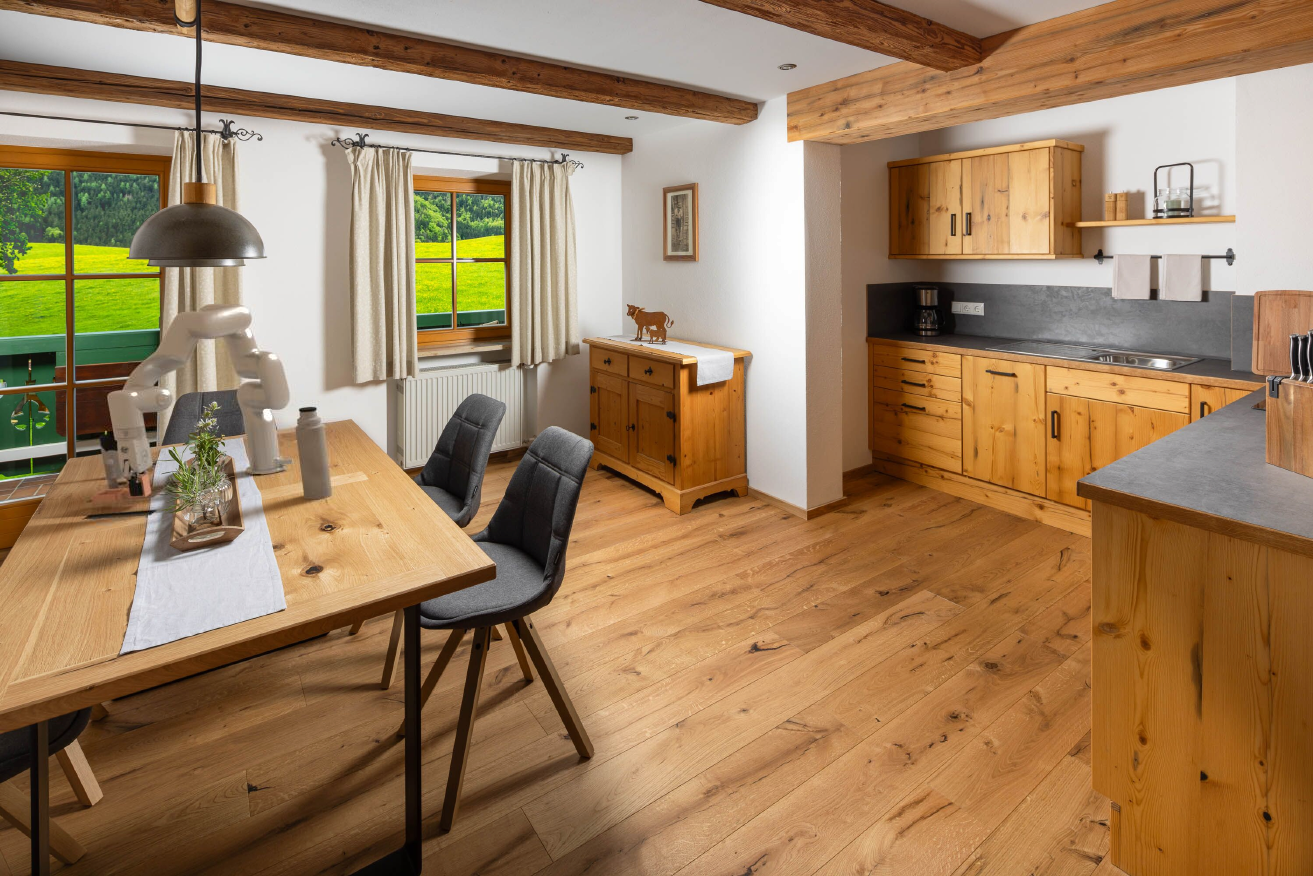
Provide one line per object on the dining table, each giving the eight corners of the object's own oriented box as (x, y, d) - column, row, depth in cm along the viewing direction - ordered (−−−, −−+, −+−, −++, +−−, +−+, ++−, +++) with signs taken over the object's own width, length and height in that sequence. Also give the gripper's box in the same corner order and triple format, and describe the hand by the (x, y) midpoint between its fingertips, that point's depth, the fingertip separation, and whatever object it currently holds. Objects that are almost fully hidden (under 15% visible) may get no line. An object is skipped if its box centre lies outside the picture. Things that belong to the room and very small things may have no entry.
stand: (170, 489, 238) (164, 452, 235) (154, 502, 225) (147, 462, 222) (107, 494, 234) (100, 456, 231) (86, 507, 221) (78, 467, 218)
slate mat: (166, 502, 225) (166, 501, 225) (150, 515, 213) (150, 513, 213) (103, 507, 221) (103, 505, 221) (83, 520, 210) (82, 518, 209)
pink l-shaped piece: (153, 491, 221) (150, 472, 220) (143, 498, 214) (139, 478, 213) (103, 494, 218) (99, 475, 217) (91, 502, 211) (87, 482, 210)
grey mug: (108, 476, 255) (100, 433, 251) (157, 471, 260) (150, 429, 257) (101, 482, 247) (93, 439, 243) (151, 477, 252) (144, 434, 249)
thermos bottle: (310, 492, 234) (299, 405, 227) (336, 491, 234) (326, 405, 228) (299, 499, 226) (288, 410, 220) (326, 499, 226) (315, 409, 220)
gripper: (131, 438, 206) (142, 500, 210) (156, 426, 222) (166, 484, 226) (101, 440, 204) (113, 503, 208) (128, 427, 220) (138, 486, 224)
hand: (140, 492), depth 217 cm, fingers closed on pink l-shaped piece, 4 cm apart
